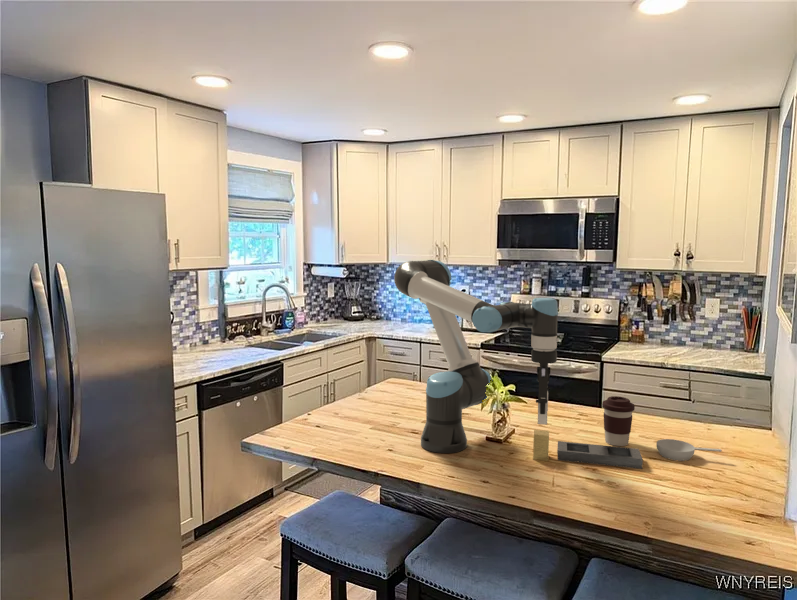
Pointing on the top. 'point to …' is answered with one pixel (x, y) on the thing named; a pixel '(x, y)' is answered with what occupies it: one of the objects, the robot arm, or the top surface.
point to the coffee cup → (617, 420)
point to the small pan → (678, 449)
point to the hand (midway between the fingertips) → (542, 417)
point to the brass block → (541, 445)
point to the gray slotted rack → (599, 454)
